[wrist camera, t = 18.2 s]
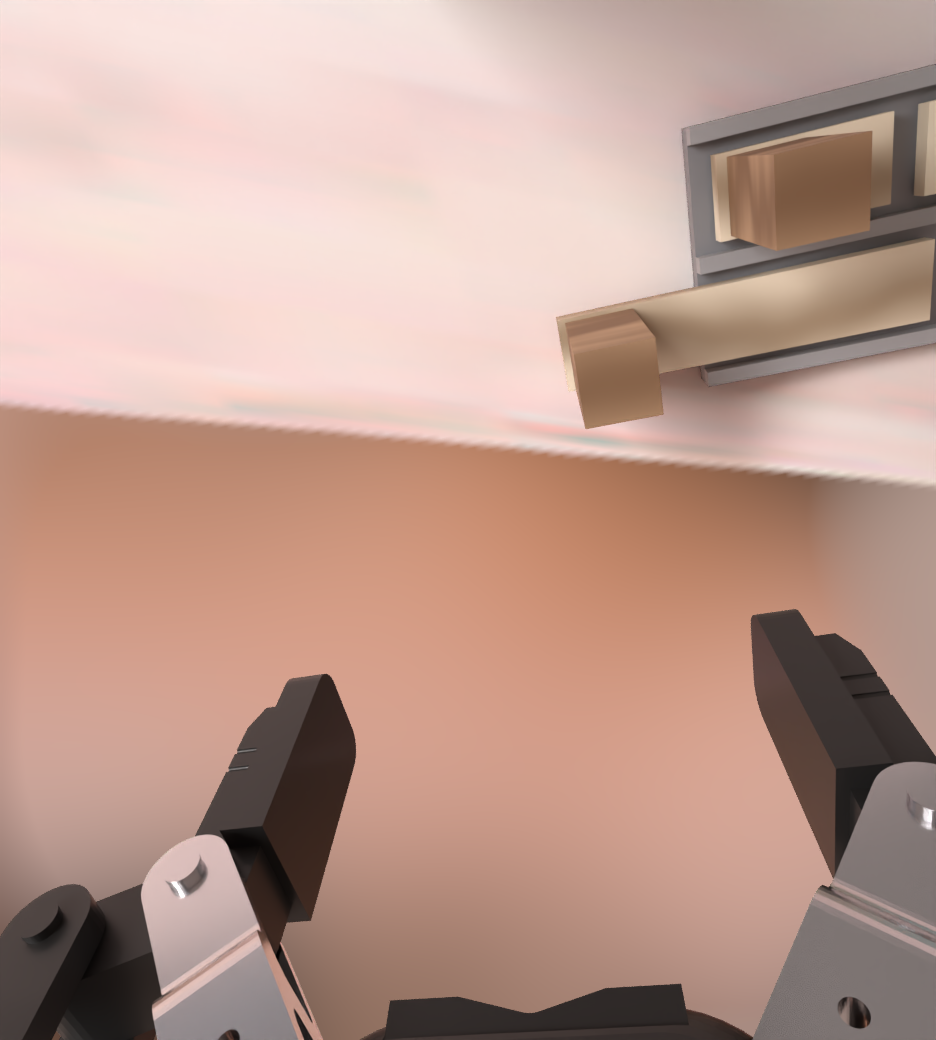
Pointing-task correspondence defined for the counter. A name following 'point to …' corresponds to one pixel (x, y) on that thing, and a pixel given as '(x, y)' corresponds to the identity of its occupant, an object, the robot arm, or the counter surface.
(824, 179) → the short strip
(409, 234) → the counter surface
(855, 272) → the cube strip
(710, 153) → the lane board
